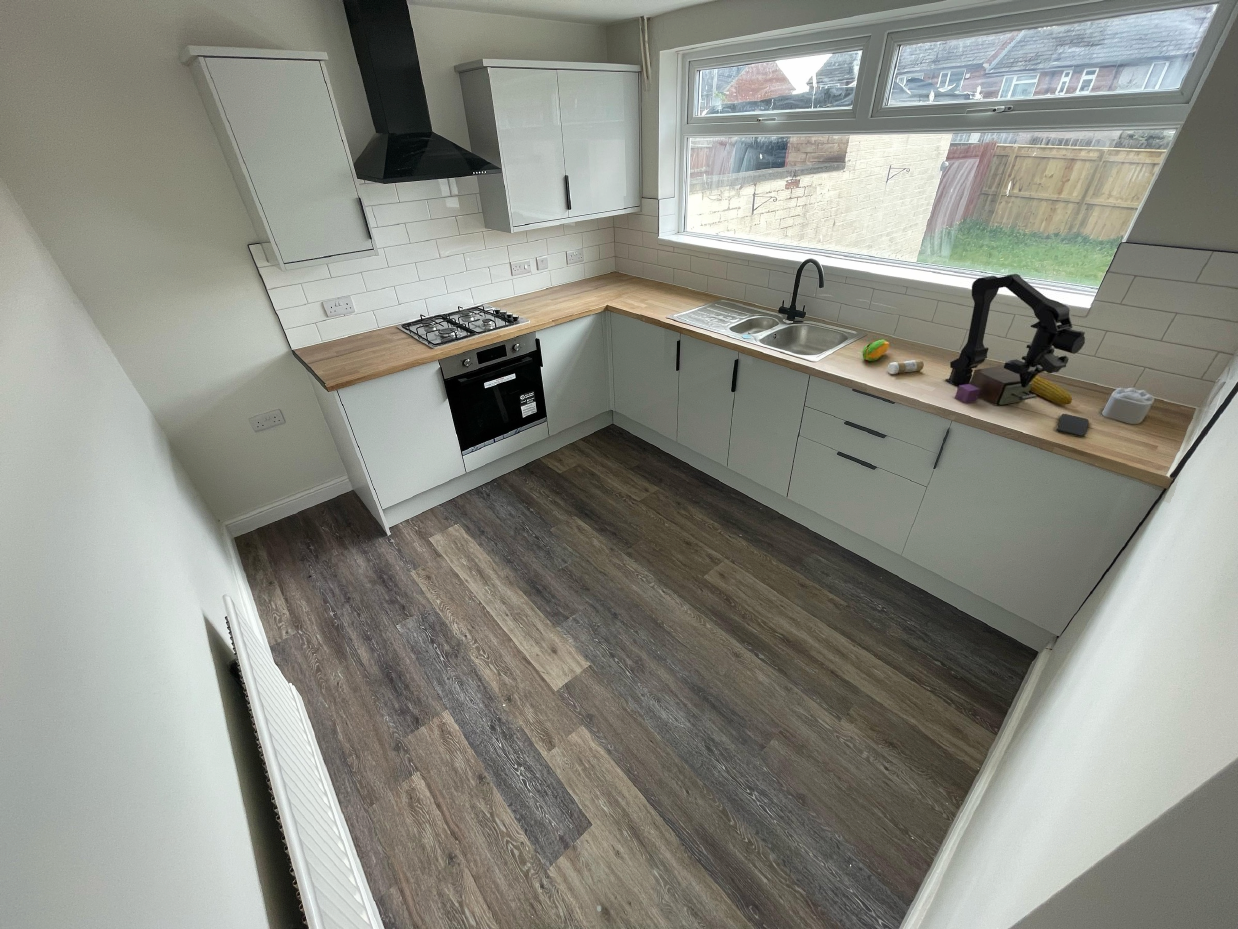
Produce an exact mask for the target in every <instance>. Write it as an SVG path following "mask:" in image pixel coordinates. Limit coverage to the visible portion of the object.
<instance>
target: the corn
mask: <svg viewBox="0 0 1238 929" xmlns="http://www.w3.org/2000/svg"><path fill="white" fill-rule="evenodd" d="M889 348H890V343H889V342H888V341H886V339H879V340H876V341H874V342H870V343H868V344H866V345H865V346H864V347H863V349H862V351H861V353H862V358H863V359H864V360H865V361H869V362H874V361H878V360H879V359H880V358H883V357H884V356H885V354H886V352H887V351H888V349H889Z"/></svg>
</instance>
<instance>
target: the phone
mask: <svg viewBox="0 0 1238 929" xmlns="http://www.w3.org/2000/svg"><path fill="white" fill-rule="evenodd" d="M1089 422H1090V420H1089V419H1088V418H1085V417H1081V416H1078V415H1073V414H1068V413H1062V414H1061V415H1060V418H1059V422H1058V424H1057V428H1056V431H1057V432H1058V433H1062V434H1066V435H1070V436H1073V437H1078V438H1085V437H1086V435H1087V432H1088V427H1089Z"/></svg>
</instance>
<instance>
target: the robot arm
mask: <svg viewBox="0 0 1238 929" xmlns="http://www.w3.org/2000/svg"><path fill="white" fill-rule="evenodd" d="M1002 288H1006V289H1007V290H1008V291H1010V292H1011V293H1012V294H1013V295H1015V296H1016V297H1017V298H1018V299H1020V301H1022V302H1023V303H1025V304H1026V305H1027V306H1028V307H1029V308H1030V309H1032V311H1033V314H1034V316H1035V318H1036V319H1037V320H1038V321H1037V322H1035V323H1032V324H1030V328H1033V329H1035V333H1034V335H1033V337H1032V340H1031V342H1030V343H1029V344H1027V345H1026V347H1025V348H1026V349H1028V350H1027V352H1026V355H1022V356H1021V360H1020V359H1018V358H1016V359H1012V360H1011V359H1010V360H1007V361H1005V362H1004V365H1003V367H1004V368H1005V369H1007V370H1009V371H1012V372H1014V373H1017V374H1019V376H1020V381H1021V386H1022V387H1023V388H1024V387H1027V385H1028V384H1029V383H1030V382H1031V381H1032V380H1033V379H1034V378H1035V377H1036V376H1038V375H1039V374H1041V373H1045V372H1046V373H1047V374H1053V373H1059V372H1060V370H1062V369H1064V368H1066V367H1067V365H1068V362H1069V359H1070V358H1069V357H1068V356H1067V355H1062V356H1059V355H1055V349H1056V350H1060V351H1062V352H1065V353H1069V354H1072V355H1075V354H1077V353H1078V352H1080V351H1081V349H1082V348H1083V347H1084V345H1085V343H1086V337H1085V334H1086V332H1085V331H1082V330H1075V329H1073V324H1072V320H1071V317H1070V312H1071V310H1070V307H1068V306H1067V305H1066V304H1064V303H1062V302H1060V301H1057V300H1055V299H1051V298H1048V297H1046V296H1045V295H1044V294H1043V293H1041V292H1040V291H1039V290H1038V289H1036V288H1035V287H1034V286H1032V284H1030V283H1029V282H1027V281H1026V280H1025V279H1024V278H1022V276H1021V275H1020V274H1018V273H1011V274H1007V275H1003V276H999V277H998V276H996V275H988V276H983V277H979V278H976V279H975V280H973V282H972V284H971V297H972V300H973V303H974V304H973V310H972V314H971V319H970V325H969V329H968V330H969V331H968V336H967V341H966V343H965V345H964V346H963V348H962V349H961V350H960V353H959V356H958V358H956V359H954V360H952V361H950V363H949V367H950V369H951V372H950V374H949V378H945V381H946V382H947V383H949V384H951V385H953V386H956V387H957V388H958V387H959V386H960V385H966V384H970V381H971V379H972V376H973V373H974V369H976V368H977V369H978V367H979V365H982V364H984V362H985V361H986V359H988V353H989V347H986V346H985V345H984V340H985V339H984V338H985V334H986V329H987V323H988V318H989V315H990V314H989V313H990V309H991V305H992V302H993V300H994V299H995V298H996V296H997V295H998V292H999V290H1000V289H1002ZM1022 360H1023V361H1022Z"/></svg>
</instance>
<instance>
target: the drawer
mask: <svg viewBox="0 0 1238 929" xmlns="http://www.w3.org/2000/svg"><path fill="white" fill-rule="evenodd" d="M1031 385H1032V383H1031V382H1030V383H1029V384H1028V385H1027V387H1024V388H1023V387H1022V386H1021V382H1019V383H1013V384H1007V385H1005V387H1004V389H1003V392H1002V394H1001V397H1000V399H999V400H1000V402H999V404H1000V405H1001V406H1003V405H1008V404H1013V403H1019V402H1025V401H1026V400H1027V401H1028V400H1032V399H1036V398H1037V394H1035V393H1033V394H1032V393H1029V392H1030V388H1031Z"/></svg>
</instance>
